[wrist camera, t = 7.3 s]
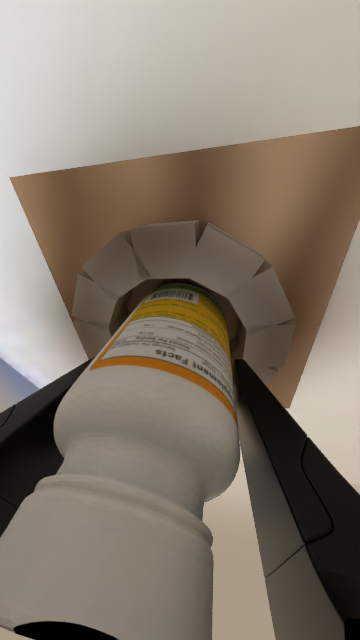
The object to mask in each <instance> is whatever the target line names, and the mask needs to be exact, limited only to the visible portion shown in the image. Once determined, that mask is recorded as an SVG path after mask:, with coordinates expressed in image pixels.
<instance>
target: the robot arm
mask: <svg viewBox="0 0 360 640" xmlns="http://www.w3.org/2000/svg"><path fill="white" fill-rule="evenodd" d="M95 357H96V356H95ZM95 357H93V358H92V359H90V360H88V361H87V362H85V363H83V364H82V365H80V366H78V367H77V368H75V369H73V370H72V371H70V372H68V373H67V374H65V375H63V376H62V377H60V378H58V379H57V380H55V381H53V382H52V383H50V384H48V385H47V386H45V387H43V388H42V389H40V390H38V391H37V392H35V393H33V394H32V395H30V396H28V397H27V398H25V399H24V400H22V401H20V402H18V403H17V404H16V405H13V406H12V407H10V408H8V409H7V410H5V411H3V412H2V413H0V538H1V536H2V534H3V533H4V531H5V530H6V528H7V527H8V525H9V523H10V522H11V520H12V518H13V517H14V515H15V513H16V512H17V510H18V508H19V507H20V505H21V503H22V502H23V500H24V499H25V498H26V497H28V496H29V495H30V494H32V493H33V492H34V491H35V487H36V485H37V484H38V482H39V481H40V480H42V479H43V478H45V477H49V476H54V475H56V473H57V472H58V470H59V469H60V467H61V465H62V464H63V461H64V457H63V456H62V454H61V453H60V451H59V449H58V447H57V445H56V442H55V438H54V419H55V414H56V411H57V409H58V406H59V404H60V402H61V401H62V399H63V398H64V396H65V395H66V393H67V392H68V391H69V389H70V388H71V387H72V385H73V384H74V383H75V382H76V380H77V379H78V378H79V376H80V375H81V374H82V373H83V372H84V370H85V369H86V368H87V367H88V366H89V364H90V363H91V362H92V361H93V359H94V358H95ZM232 376H233V386H234V396H235V404H236V413H237V422H238V432H239V440H240V445H241V451H242V456H243V462H244V467H245V472H246V478H247V484H248V489H249V495H250V500H251V506H252V511H253V517H254V522H255V528H256V533H257V539H258V544H259V550H260V555H261V560H262V566H263V572H264V576H265V578H266V579H265V583H266V588H267V594H268V600H269V604H270V611H271V616H272V621H273V627H274V632H275V638H276V640H360V494H359V493H358V492H357V491H356V490H355V489H354V488H353V487H352V486H351V485H350V484H349V483H348V482H347V480H346V479H345V478H344V477H343V476H342V475H341V474H340V473H339V472H338V471H337V470H336V468H335V467H334V466H333V465H332V464H331V463H330V461H329V460H328V459H327V458H326V457H325V456H324V455H323V453H322V452H321V451H320V450H319V449H318V447H317V446H316V445H315V444H314V443H313V441H312V440H311V439H310V438H309V437H307V434H306V433H305V432H304V431H303V430H302V428H301V427H300V426H299V425H298V423H297V422H296V421H295V420H294V419H293V417H292V416H291V415H290V414H289V413H288V411H287V410H286V409H285V408H284V407H283V405H282V404H281V403H280V402H279V401H278V399H277V398H276V397H275V396H274V395H273V393H272V392H271V391H270V390H269V389H268V387H267V386H266V385H265V384H264V383H263V381H262V380H261V379H260V378H259V377H258V375H257V374H256V373H255V372H254V370H253V369H252V368H251V367H250V366H249V364H248V363H247V362H246V361H245V360H244V359H234V362H233V372H232Z"/></svg>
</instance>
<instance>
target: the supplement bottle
mask: <svg viewBox="0 0 360 640" xmlns="http://www.w3.org/2000/svg"><path fill="white" fill-rule="evenodd" d="M54 438H55V442H56V445H57V447H58V449H59V451H60V453H61V454H62V456H63V457H64V461H63V464H62V465H61V467H60V469H59V470H58V472H57V473H56V475H54V476H49V477H45V478H43V479H42V480H40V481H39V482H38V484H37V485H36V487H35V491H34V492H33V493H32V494H30V495H29V496H28V497H26V498H25V499H24V500H23V502H22V503H21V505H20V507H19V508H18V510H17V512H16V513H15V515H14V517H13V518H12V520H11V522H10V523H9V525H8V527H7V528H6V530H5V531H4V533H3V534H2V536H1V538H0V627H2V628H5V629H7V630H9V631H12V632H14V633H16V634H19V635H22V636H25V637H28V638H32V639H35V640H212V602H213V554H212V551H211V546H212V542H213V536H212V534H211V531H210V530H209V528H208V527H207V526H206V525H205V524H204V523H203V522H202V517H203V506H204V502H207V501H209V500H212V499H213V498H216V497H217V496H219V495H220V494H222V493H223V492H224V491H225V490H226V489H227V488H228V487H229V486H230V485H231V483H232V481H233V480H234V478H235V476H236V473H237V470H238V466H239V461H240V444H239V432H238V422H237V413H236V404H235V396H234V386H233V376H232V366H231V357H230V348H229V338H228V328H227V321H226V317H225V314H224V311H223V309H222V307H221V306H220V304H219V303H218V301H217V300H216V299H215V298H214V297H213V296H212V295H211V294H210V293H208V292H207V291H205V290H203V289H202V288H199V287H197V286H194V285H191V284H186V283H170V284H165V285H162V286H160V287H157V288H156V289H154V290H152V291H151V292H150V293H148V294H147V295H146V296H145V298H144V299H143V300H142V301H141V302H140V303H139V305H138V306H137V307H136V308H135V309H134V311H133V312H132V313H131V314H130V316H129V317H128V318H127V319H126V320H125V322H124V323H123V324H122V325H121V327H120V328H119V329H118V330H117V331H116V333H115V334H114V335H113V336H112V338H111V339H110V340H109V341H108V342H107V344H106V345H105V346H104V347H103V349H102V350H101V351H100V352H99V353H98V355H97V356H96V357H95V358H94V359H93V361H92V362H91V363H90V364H89V366H88V367H87V368H86V369H85V370H84V372H83V373H82V374H81V375H80V376H79V378H78V379H77V380H76V382H75V383H74V384H73V385H72V387H71V388H70V389H69V391H68V392H67V393H66V395H65V396H64V398H63V399H62V401H61V402H60V404H59V406H58V409H57V411H56V414H55V419H54Z"/></svg>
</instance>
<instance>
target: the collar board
mask: <svg viewBox="0 0 360 640" xmlns="http://www.w3.org/2000/svg"><path fill="white" fill-rule="evenodd" d="M10 180H11V182H12V184H13V187H14V189H15V191H16V194H17V196H18V198H19V200H20V203H21V205H22V207H23V210H24V212H25V214H26V216H27V219H28V221H29V223H30V226H31V228H32V230H33V232H34V235H35V237H36V239H37V242H38V244H39V246H40V248H41V251H42V253H43V255H44V258H45V260H46V262H47V264H48V267H49V269H50V271H51V274H52V276H53V278H54V280H55V283H56V285H57V287H58V290H59V292H60V294H61V296H62V299H63V301H64V303H65V306H66V308H67V310H68V312H69V315H70V317H71V319H72V322H73V324H74V326H75V329H76V331H77V333H78V336H79V338H80V340H81V342H82V345H83V347H84V349H85V352H86V354H87V356H88V358H89V360H90V359H92V358H93V357H95V356H97V355H98V353H99V352H100V351H101V350H102V349H103V347H104V346H105V345H106V344H107V342H108V341H109V340H110V339H111V338H112V336H113V335H114V334H115V333H116V331H117V330H118V329H119V328H120V327H121V325H122V324H123V323H124V322H125V320H126V319H127V318H128V317H129V316H130V314H131V313H132V312H133V311H134V309H135V308H136V307H137V306H138V305H139V303H140V302H141V301H142V300H143V299H144V298H145V296H146V295H147V294H148V293H150V292H151V291H152V290H154V289H156V288H157V287H160V286H162V285H165V284H170V283H186V284H191V285H194V286H197V287H199V288H202V289H203V290H205V291H207V292H208V293H210V294H211V295H212V296H213V297H214V298H215V299H216V300H217V301H218V303H219V304H220V306H221V307H222V309H223V311H224V314H225V317H226V321H227V328H228V338H229V348H230V357H231V366H232V372H233V362H234V359H244V360H245V361H246V362H247V363H248V364H249V366H250V367H251V368H252V369H253V370H254V372H255V373H256V374H257V375H258V377H259V378H260V379H261V380H262V381H263V383H264V384H265V385H266V386H267V387H268V389H269V390H270V391H271V392H272V393H273V395H274V396H275V397H276V398H277V399H278V401H279V402H280V403H281V404H282V405H283V407H284V408H290V405H291V402H292V400H293V397H294V394H295V391H296V389H297V386H298V383H299V381H300V378H301V375H302V373H303V370H304V367H305V365H306V362H307V359H308V356H309V354H310V351H311V348H312V346H313V343H314V340H315V338H316V335H317V332H318V329H319V327H320V324H321V321H322V319H323V316H324V313H325V311H326V308H327V305H328V302H329V300H330V297H331V294H332V292H333V289H334V286H335V284H336V281H337V278H338V275H339V273H340V270H341V267H342V265H343V262H344V259H345V257H346V254H347V251H348V248H349V246H350V243H351V240H352V238H353V235H354V232H355V230H356V227H357V224H358V221H359V219H360V126H358V127H352V128H345V129H338V130H331V131H324V132H317V133H311V134H304V135H297V136H290V137H283V138H276V139H270V140H263V141H256V142H249V143H242V144H235V145H229V146H222V147H215V148H208V149H201V150H194V151H188V152H181V153H174V154H167V155H160V156H153V157H147V158H140V159H133V160H126V161H119V162H113V163H106V164H99V165H92V166H85V167H78V168H72V169H65V170H58V171H51V172H44V173H37V174H31V175H24V176H17V177H10Z"/></svg>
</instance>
